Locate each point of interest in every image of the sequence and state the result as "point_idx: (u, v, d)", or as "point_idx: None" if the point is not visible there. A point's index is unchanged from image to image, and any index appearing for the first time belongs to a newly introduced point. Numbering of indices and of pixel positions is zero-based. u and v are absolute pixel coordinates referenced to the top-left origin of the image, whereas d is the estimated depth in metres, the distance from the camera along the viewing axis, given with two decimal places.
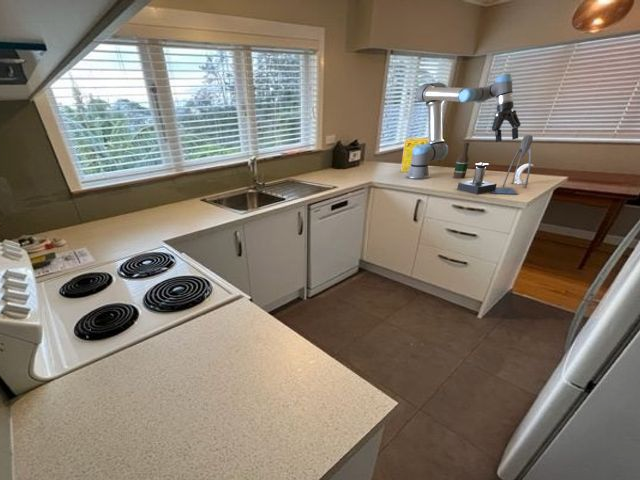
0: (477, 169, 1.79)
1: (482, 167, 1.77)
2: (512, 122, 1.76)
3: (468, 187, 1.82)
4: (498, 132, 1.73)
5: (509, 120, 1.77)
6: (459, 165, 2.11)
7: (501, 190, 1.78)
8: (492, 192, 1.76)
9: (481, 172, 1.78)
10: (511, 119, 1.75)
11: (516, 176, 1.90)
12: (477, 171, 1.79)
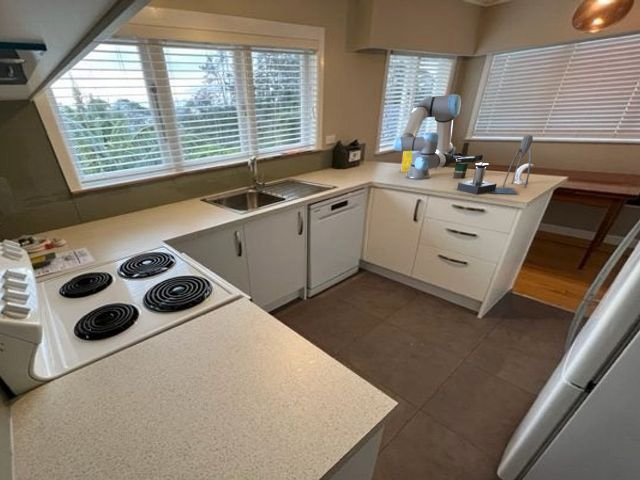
0: (477, 169, 1.79)
1: (482, 167, 1.77)
2: None
3: (468, 187, 1.82)
4: None
5: None
6: (459, 165, 2.11)
7: (501, 190, 1.78)
8: (492, 192, 1.76)
9: (481, 172, 1.78)
10: None
11: (516, 176, 1.90)
12: (477, 171, 1.79)
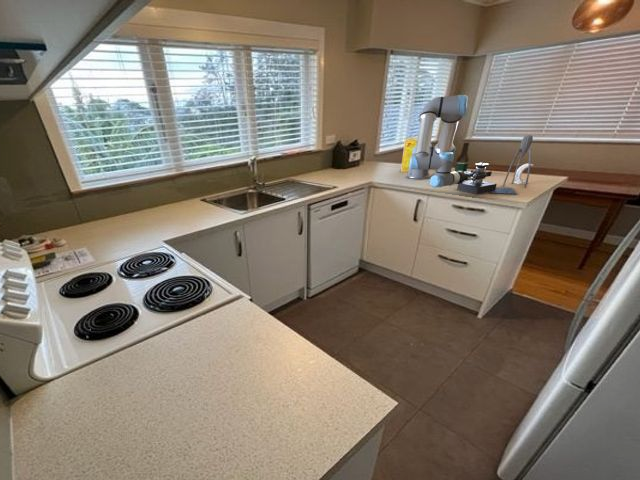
0: (477, 169, 1.79)
1: (482, 167, 1.77)
2: None
3: (468, 187, 1.82)
4: None
5: None
6: (459, 165, 2.11)
7: (501, 190, 1.78)
8: (492, 192, 1.76)
9: (481, 172, 1.78)
10: None
11: (516, 176, 1.90)
12: (477, 171, 1.79)
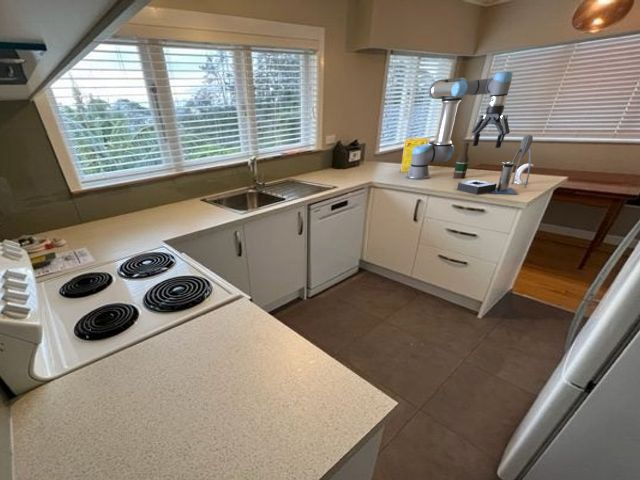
0: (504, 168, 1.73)
1: (510, 166, 1.71)
2: None
3: (468, 187, 1.82)
4: (474, 136, 1.73)
5: None
6: (459, 165, 2.11)
7: None
8: (492, 192, 1.76)
9: (509, 171, 1.72)
10: None
11: (516, 176, 1.90)
12: (504, 170, 1.73)
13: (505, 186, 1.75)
